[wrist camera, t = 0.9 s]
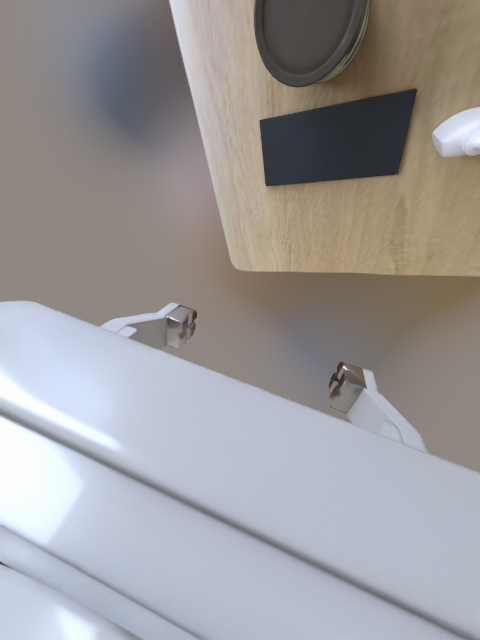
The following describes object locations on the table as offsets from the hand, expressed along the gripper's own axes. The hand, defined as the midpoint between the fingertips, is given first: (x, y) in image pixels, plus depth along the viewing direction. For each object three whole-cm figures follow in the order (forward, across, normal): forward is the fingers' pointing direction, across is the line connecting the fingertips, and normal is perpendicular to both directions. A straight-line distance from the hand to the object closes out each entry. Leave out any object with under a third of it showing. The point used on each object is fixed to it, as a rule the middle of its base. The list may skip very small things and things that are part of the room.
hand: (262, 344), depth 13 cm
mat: (+40, +1, -14) cm, 42 cm away
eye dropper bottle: (+38, -15, -18) cm, 45 cm away
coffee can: (+36, +6, -25) cm, 45 cm away
